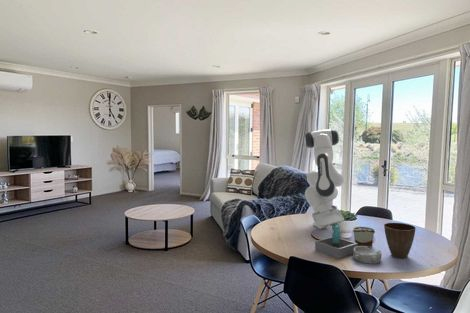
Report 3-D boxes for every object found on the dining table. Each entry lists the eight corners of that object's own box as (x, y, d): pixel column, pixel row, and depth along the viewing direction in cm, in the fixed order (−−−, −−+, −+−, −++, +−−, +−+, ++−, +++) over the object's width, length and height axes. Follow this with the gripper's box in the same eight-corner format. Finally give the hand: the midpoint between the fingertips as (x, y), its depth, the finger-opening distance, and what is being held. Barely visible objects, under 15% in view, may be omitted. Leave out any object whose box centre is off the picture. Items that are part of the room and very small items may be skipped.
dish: (358, 252, 180) (358, 243, 180) (384, 258, 171) (385, 249, 171) (348, 260, 169) (348, 251, 169) (376, 267, 160) (376, 257, 160)
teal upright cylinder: (335, 240, 185) (335, 224, 185) (341, 242, 182) (342, 226, 181) (330, 241, 183) (330, 225, 182) (336, 243, 179) (336, 227, 179)
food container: (371, 243, 195) (371, 226, 195) (374, 246, 189) (375, 229, 188) (350, 242, 196) (350, 226, 196) (352, 246, 190) (352, 229, 190)
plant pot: (378, 255, 175) (379, 226, 174) (389, 248, 185) (390, 220, 184) (409, 263, 164) (410, 232, 163) (418, 255, 175) (419, 226, 173)
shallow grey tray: (333, 244, 194) (333, 236, 193) (357, 252, 181) (357, 243, 180) (315, 250, 185) (315, 241, 184) (338, 258, 172) (338, 249, 171)
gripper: (313, 210, 181) (327, 232, 173) (337, 205, 192) (352, 225, 185) (307, 216, 185) (321, 238, 177) (331, 211, 196) (345, 231, 189)
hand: (337, 231), depth 181 cm, fingers closed on teal upright cylinder, 4 cm apart
